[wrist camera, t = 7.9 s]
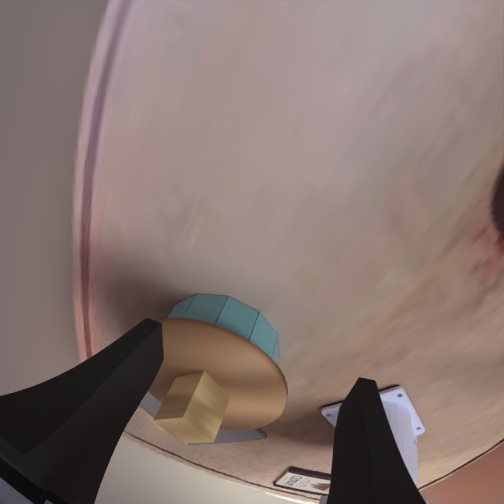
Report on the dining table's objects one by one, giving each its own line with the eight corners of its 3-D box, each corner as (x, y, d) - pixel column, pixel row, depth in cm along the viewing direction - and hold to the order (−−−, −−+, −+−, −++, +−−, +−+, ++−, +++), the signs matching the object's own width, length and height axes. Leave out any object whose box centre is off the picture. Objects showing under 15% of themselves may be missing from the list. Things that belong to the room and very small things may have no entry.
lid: (317, 410, 21) (308, 466, 17) (201, 427, 27) (184, 469, 23) (216, 292, 18) (182, 353, 14) (108, 341, 24) (76, 383, 19)
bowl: (300, 361, 25) (292, 401, 22) (217, 384, 29) (203, 417, 26) (231, 276, 22) (211, 313, 19) (150, 316, 27) (128, 348, 23)
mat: (266, 435, 32) (266, 438, 32) (189, 442, 38) (188, 444, 38) (189, 365, 29) (187, 369, 28) (119, 384, 35) (118, 386, 34)
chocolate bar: (374, 501, 38) (273, 485, 40) (375, 497, 39) (274, 480, 41) (404, 485, 34) (291, 469, 35) (404, 480, 34) (292, 463, 36)
